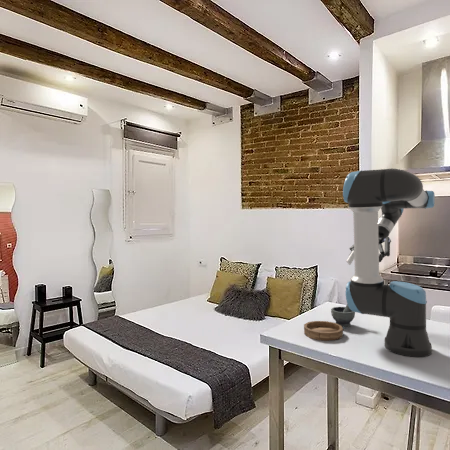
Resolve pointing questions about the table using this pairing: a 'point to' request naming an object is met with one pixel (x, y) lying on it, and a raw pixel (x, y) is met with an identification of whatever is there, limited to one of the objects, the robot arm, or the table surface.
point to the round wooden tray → (323, 330)
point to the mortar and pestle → (343, 315)
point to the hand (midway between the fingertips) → (360, 264)
